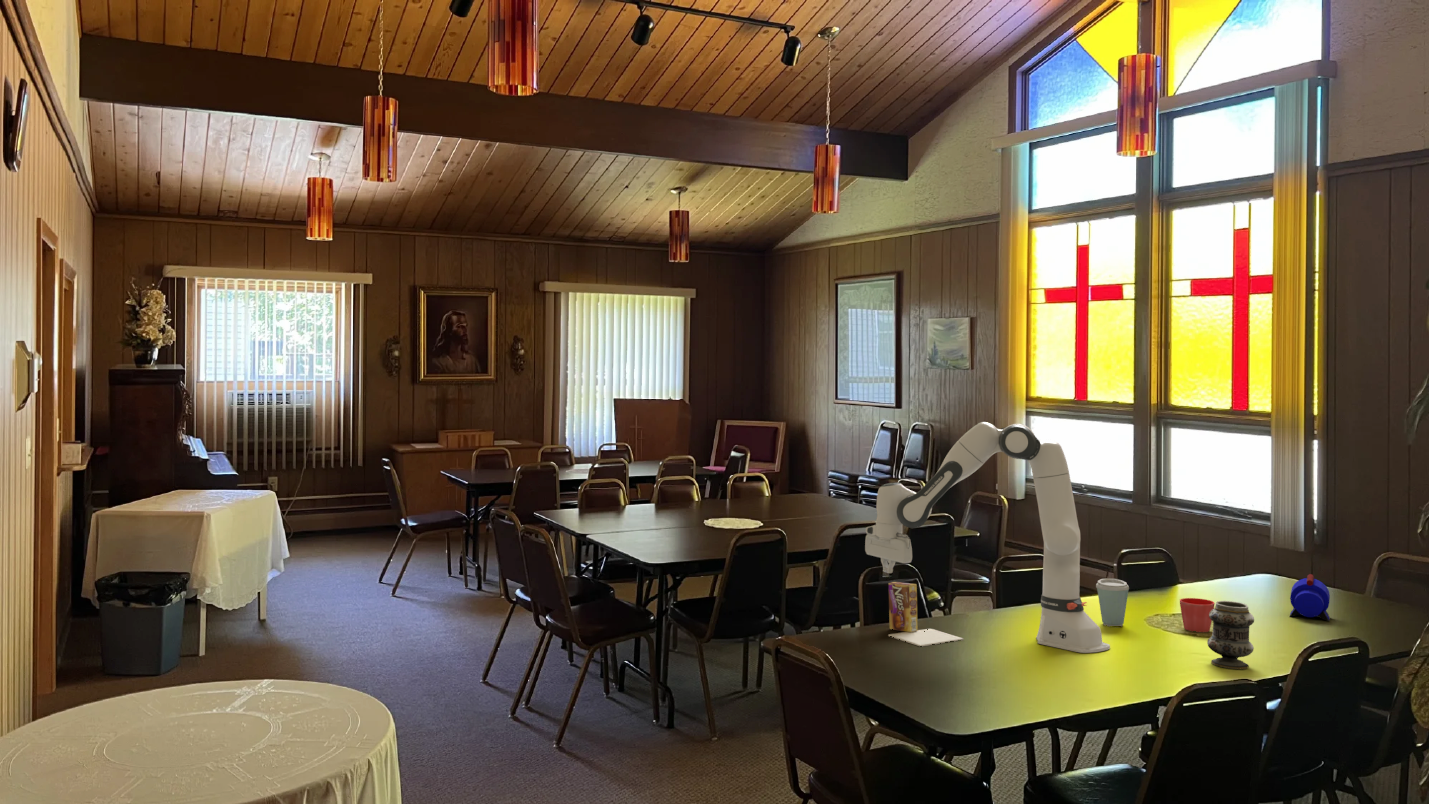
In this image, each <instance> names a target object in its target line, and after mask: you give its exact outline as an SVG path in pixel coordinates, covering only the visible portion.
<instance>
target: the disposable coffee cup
mask: <svg viewBox="0 0 1429 804" xmlns="http://www.w3.org/2000/svg"><path fill="white" fill-rule="evenodd" d="M1095 588H1096V591H1097V595H1098V603H1099V610H1100V615H1101V621H1102V624H1103V626H1106V625H1107V626H1106V627H1110V626H1121V627H1123V625H1124V623H1125V618H1126V617H1125V615H1126V609H1127V601H1128V596H1129V589H1130V587H1129V585H1128V584H1127V582H1126V581H1124V580H1121V579H1118V578H1101V579H1099V580H1097V583H1096V584H1095Z"/></svg>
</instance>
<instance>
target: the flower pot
mask: <svg viewBox="0 0 1429 804" xmlns="http://www.w3.org/2000/svg"><path fill="white" fill-rule="evenodd" d="M1179 606H1180V612H1181V617H1182V618H1181V619H1182V624H1183V628H1184V630H1185V631H1189V632H1193V631H1196V632H1195V633H1208V632H1210V631H1211V627H1212V623H1213V621H1212V620H1211V619H1210V617H1209V613H1210V611H1211V610H1212V609H1214V608H1215V606H1216V602H1215V601H1213V600H1209V599H1205V598H1195V597H1186V598H1180V599H1179Z"/></svg>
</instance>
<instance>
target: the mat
mask: <svg viewBox="0 0 1429 804" xmlns="http://www.w3.org/2000/svg"><path fill="white" fill-rule="evenodd" d="M927 629H928V630H927ZM924 631H925V632H924ZM887 636H888V637H890V636H892V637H891V638H893V637H894V638H893V639H896V640H899V639H900V640H899V641H902V642H905V641H906V643H909V644H912V645H914V646H918V647H920V646H922V647H928V646H933V645H932V644H935V645H939V644H940V643H941V644H946V643H945V642H948V643H951V642H950V641H954V642H959V641H958V640H961V641H964V638H963V637H960V636H957V635H954V634H949V633H946V632H943V631H940V630H937V629H934V628H925V629H918V631H914V632H906V631H902V632H898V633H890V634H888V635H887ZM941 644H940V645H941Z"/></svg>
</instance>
